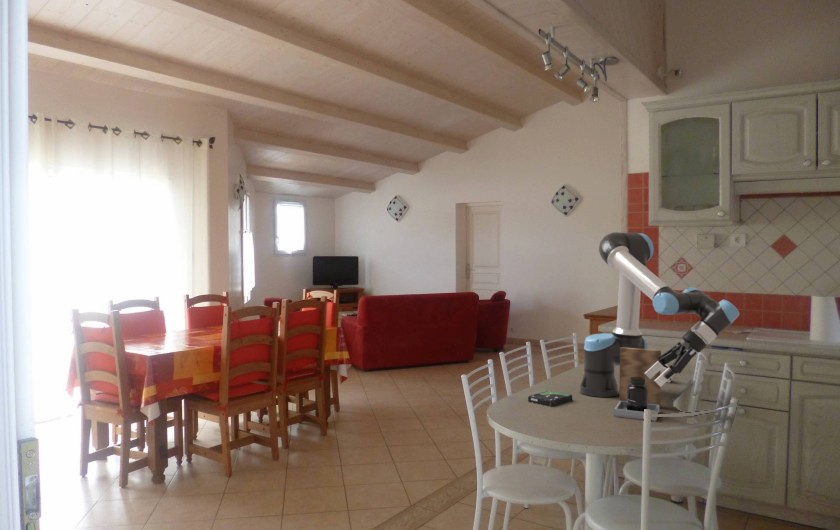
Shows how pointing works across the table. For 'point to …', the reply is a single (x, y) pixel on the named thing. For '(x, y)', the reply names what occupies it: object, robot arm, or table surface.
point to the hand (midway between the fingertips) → (652, 380)
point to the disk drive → (550, 398)
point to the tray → (623, 412)
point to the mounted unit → (639, 371)
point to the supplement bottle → (637, 395)
